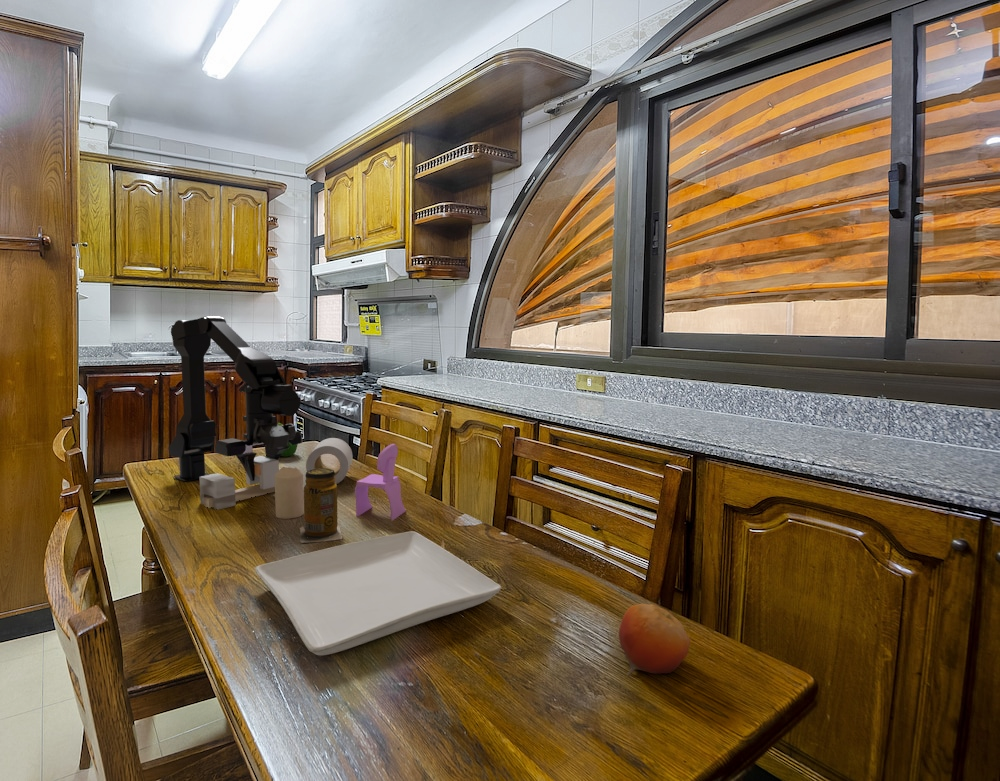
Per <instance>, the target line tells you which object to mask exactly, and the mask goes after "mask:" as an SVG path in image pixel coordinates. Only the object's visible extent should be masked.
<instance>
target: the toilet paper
mask: <svg viewBox="0 0 1000 781" xmlns="http://www.w3.org/2000/svg"><path fill="white" fill-rule="evenodd" d="M327 454H328V455H331V456H334V457H336V458H337V459H338V461H339V465H340V466H338V467H328V466H326V465H325V464H324V462H323V461H322V457H321V456H323V455H327ZM352 462H353V451H352V448H351V447H350V446H349V444H348V443H347V442H346V441H345V440H343V439H341V438H336V437H329V438H326V439H323V440H321V441H320V442H318V444H317V445H316V446H315V447H314V448H313V450H312V451H311V453H309V455H308V457H307V459H306V463H305V469H306V470H305V471H306V472H307V471H309V470H311V469H317V468H328V469H332V470H334V473H335V476H334V477H335V481H334V482H335V483H336V485H337V484H340V482H343V480H344V479H345V478H346V476H347V475H348V472H349V469H350V467H351V464H353V463H352Z"/></svg>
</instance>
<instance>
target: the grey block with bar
mask: <svg viewBox="0 0 1000 781" xmlns="http://www.w3.org/2000/svg"><path fill="white" fill-rule="evenodd" d="M210 474H211V475H206V476H201V477H199V479H198V480H199V494H200V496H199V497H200V501H199V502H200V504H201V505H203V504H204V505H203V506H205V508H207V507H208V508H207V509H211V507H212V508H213V510H216V509H217V511H220V510H223V509H226V508H230V507H234V506H236V502H239V500H240V501H244V500H247V499H252V498H255V496H256V497H259V496H263V495H267V493H268V494H272V493H275V487H271V488H267V489H261V488H260V483H258V484H254V485H249V486H248V487H243V488H238V489H236V483H235V482H236V479H235V477H232V476H228V475H226V474H222V473H218V472H217V473H210ZM251 497H252V498H251Z"/></svg>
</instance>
